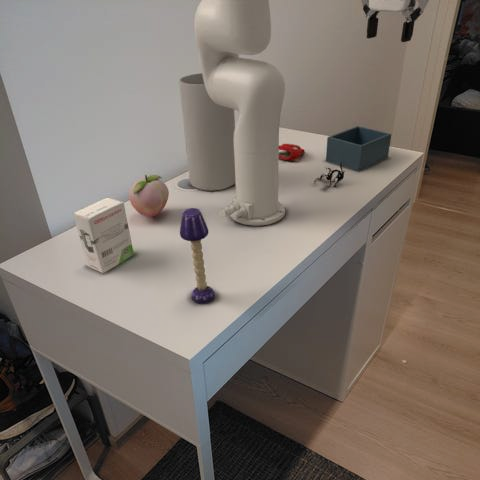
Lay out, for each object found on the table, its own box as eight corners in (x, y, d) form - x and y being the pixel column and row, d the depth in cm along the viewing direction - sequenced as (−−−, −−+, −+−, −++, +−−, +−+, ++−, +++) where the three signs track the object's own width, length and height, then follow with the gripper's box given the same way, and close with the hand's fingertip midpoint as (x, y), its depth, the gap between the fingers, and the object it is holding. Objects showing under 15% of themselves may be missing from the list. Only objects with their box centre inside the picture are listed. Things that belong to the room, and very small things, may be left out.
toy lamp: (207, 307, 84) (199, 219, 73) (183, 302, 85) (171, 215, 75) (218, 292, 87) (211, 206, 77) (195, 287, 89) (185, 202, 78)
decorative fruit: (146, 205, 117) (139, 165, 111) (176, 210, 115) (171, 169, 109) (125, 222, 111) (116, 180, 104) (156, 228, 108) (149, 185, 102)
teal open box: (358, 171, 129) (361, 146, 125) (325, 161, 136) (327, 137, 132) (387, 158, 136) (391, 133, 132) (355, 149, 143) (357, 125, 139)
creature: (316, 195, 121) (348, 187, 120) (312, 175, 118) (345, 167, 116) (313, 183, 127) (343, 175, 126) (309, 163, 124) (341, 155, 123)
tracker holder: (300, 144, 144) (311, 147, 135) (297, 160, 146) (308, 163, 137) (261, 139, 141) (270, 140, 132) (259, 154, 143) (268, 157, 134)
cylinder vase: (181, 181, 129) (168, 78, 113) (219, 169, 134) (212, 70, 119) (207, 196, 121) (197, 87, 105) (246, 182, 126) (243, 78, 111)
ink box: (119, 248, 101) (107, 195, 94) (135, 255, 99) (124, 201, 92) (86, 266, 96) (71, 212, 89) (103, 274, 94) (89, 218, 86)
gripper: (356, -49, 108) (349, 38, 119) (425, -51, 98) (410, 45, 108) (377, -51, 112) (368, 34, 123) (445, -53, 101) (429, 40, 112)
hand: (388, 39), depth 115 cm, fingers open, 9 cm apart
